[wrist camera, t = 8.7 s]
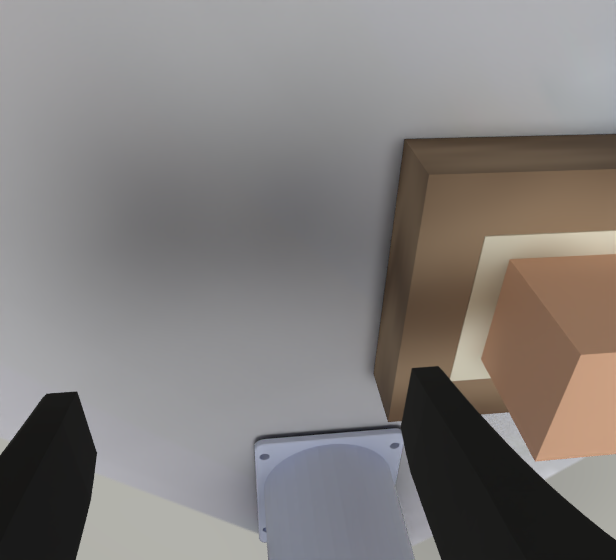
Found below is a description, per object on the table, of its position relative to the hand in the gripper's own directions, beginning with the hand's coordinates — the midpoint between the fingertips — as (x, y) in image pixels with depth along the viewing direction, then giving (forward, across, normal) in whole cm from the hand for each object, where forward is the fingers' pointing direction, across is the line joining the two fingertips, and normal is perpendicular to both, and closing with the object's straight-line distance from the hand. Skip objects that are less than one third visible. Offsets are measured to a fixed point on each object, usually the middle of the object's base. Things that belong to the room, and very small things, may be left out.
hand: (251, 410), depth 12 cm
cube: (+7, -12, +4) cm, 15 cm away
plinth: (+10, -12, +4) cm, 16 cm away
